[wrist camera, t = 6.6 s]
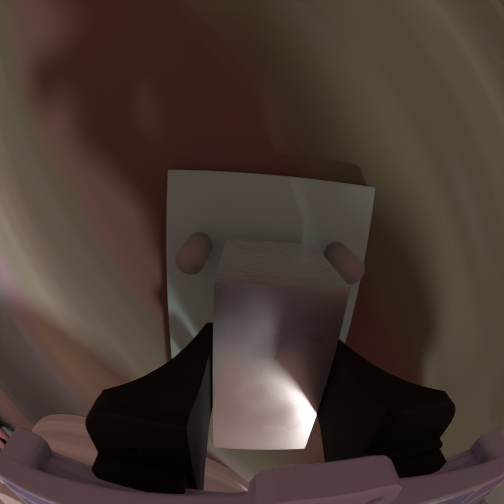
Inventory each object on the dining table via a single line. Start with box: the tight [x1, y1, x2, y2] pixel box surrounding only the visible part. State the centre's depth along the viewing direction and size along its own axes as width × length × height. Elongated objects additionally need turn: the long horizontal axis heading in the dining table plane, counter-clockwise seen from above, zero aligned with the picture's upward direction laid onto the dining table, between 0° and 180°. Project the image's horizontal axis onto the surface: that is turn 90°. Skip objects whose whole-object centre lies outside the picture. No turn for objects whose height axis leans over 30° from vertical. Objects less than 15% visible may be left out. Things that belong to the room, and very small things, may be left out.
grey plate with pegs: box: [166, 170, 375, 358], centre depth 14 cm, size 14×10×4 cm
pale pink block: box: [213, 238, 350, 450], centre depth 12 cm, size 8×4×5 cm, turn 176°
